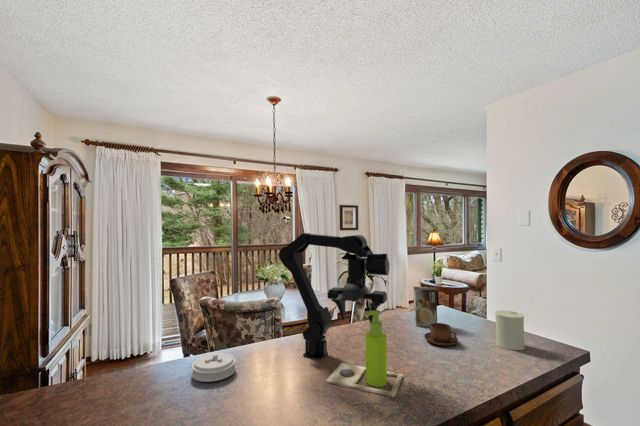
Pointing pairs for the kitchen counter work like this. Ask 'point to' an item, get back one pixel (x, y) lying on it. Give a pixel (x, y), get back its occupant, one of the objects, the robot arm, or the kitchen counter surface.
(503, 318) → the can
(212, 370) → the lid
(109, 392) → the kitchen counter surface
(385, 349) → the soap dispenser
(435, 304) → the coffee box
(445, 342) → the cup and saucer
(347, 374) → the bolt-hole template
